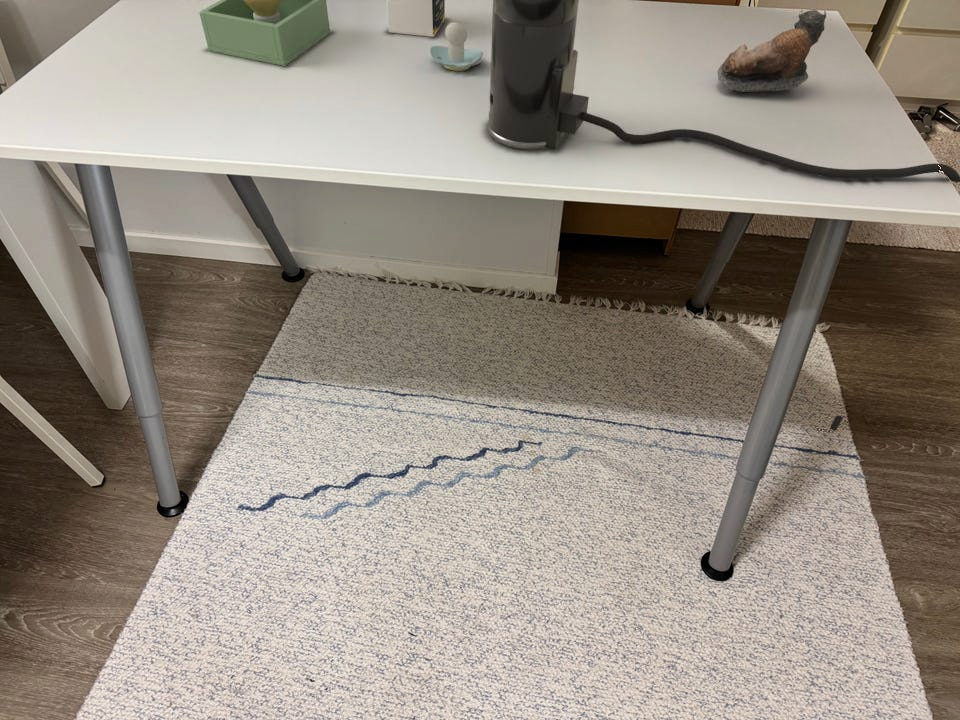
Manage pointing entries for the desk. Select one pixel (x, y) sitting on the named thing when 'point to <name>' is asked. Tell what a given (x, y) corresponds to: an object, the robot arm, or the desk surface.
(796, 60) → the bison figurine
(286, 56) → the green open-top box
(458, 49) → the pacifier
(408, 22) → the white box
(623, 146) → the desk surface
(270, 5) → the light bulb
